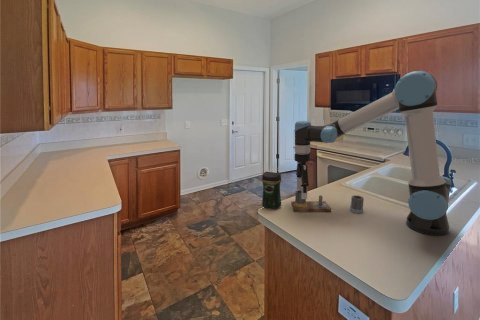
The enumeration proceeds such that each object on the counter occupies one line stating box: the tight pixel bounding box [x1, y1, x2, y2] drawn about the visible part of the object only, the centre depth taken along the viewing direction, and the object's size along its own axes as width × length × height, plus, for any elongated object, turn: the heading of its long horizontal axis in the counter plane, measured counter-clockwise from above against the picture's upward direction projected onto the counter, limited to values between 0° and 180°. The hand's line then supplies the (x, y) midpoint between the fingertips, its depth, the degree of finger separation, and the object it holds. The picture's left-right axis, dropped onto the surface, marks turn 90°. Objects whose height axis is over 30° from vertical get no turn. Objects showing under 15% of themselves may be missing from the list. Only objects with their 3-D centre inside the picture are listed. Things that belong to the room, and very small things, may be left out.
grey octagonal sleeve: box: [349, 195, 364, 214], centre depth 133 cm, size 6×6×7 cm
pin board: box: [291, 194, 332, 213], centre depth 137 cm, size 18×10×7 cm, turn 87°
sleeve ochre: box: [294, 189, 307, 207], centre depth 137 cm, size 6×6×7 cm
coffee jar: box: [261, 171, 282, 210], centre depth 139 cm, size 10×8×19 cm
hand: (301, 194), depth 136 cm, fingers open, 13 cm apart
